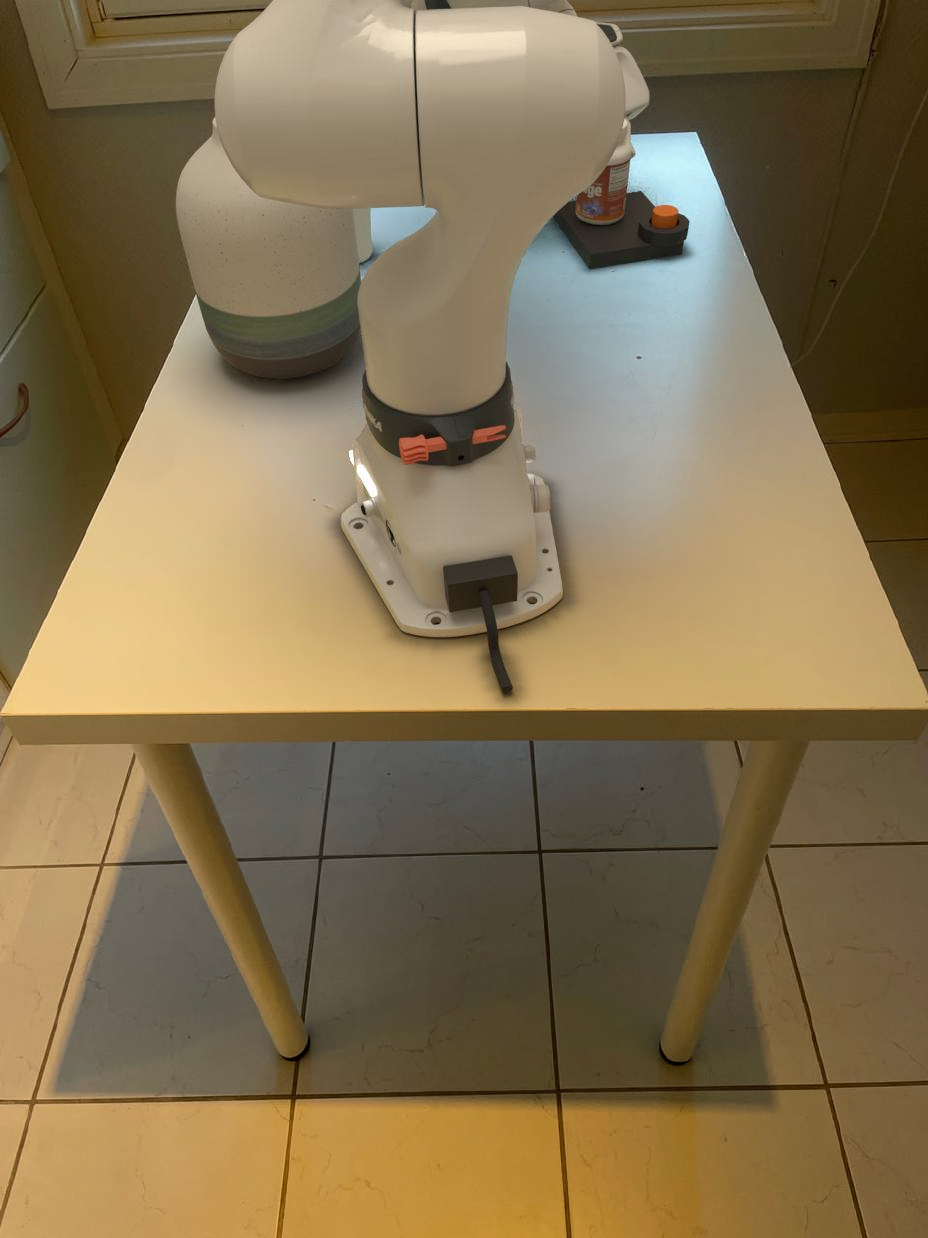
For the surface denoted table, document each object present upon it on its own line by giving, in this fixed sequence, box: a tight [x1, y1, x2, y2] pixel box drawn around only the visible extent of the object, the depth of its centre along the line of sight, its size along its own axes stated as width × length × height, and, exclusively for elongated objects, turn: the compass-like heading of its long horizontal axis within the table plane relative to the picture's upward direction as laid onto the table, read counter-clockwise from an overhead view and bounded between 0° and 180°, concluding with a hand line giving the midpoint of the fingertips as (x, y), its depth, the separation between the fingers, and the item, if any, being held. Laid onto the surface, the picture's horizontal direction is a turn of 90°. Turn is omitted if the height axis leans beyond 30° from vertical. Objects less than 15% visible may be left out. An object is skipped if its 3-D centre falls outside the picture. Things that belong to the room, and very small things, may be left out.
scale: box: [552, 190, 691, 270], centre depth 116 cm, size 15×13×4 cm
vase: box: [175, 116, 362, 380], centre depth 93 cm, size 17×17×24 cm
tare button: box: [651, 204, 679, 229], centre depth 112 cm, size 3×3×2 cm
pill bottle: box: [575, 119, 632, 225], centre depth 113 cm, size 6×6×11 cm
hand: (607, 168), depth 112 cm, fingers closed on pill bottle, 6 cm apart
